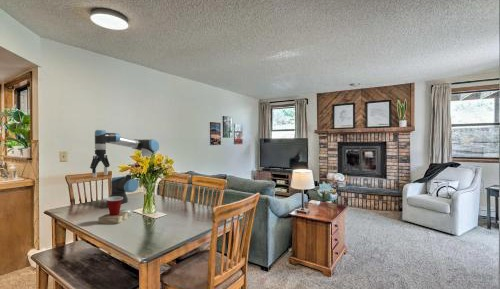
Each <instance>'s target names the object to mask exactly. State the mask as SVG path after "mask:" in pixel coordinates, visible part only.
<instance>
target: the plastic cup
mask: <svg viewBox="0 0 500 289" xmlns="http://www.w3.org/2000/svg"><path fill="white" fill-rule="evenodd" d="M122 199H123V197H120V196H114V197H110V196H109V197H106V199H105V201H106V203H107V207H108V213H110V215H111V216H115V215H119V212H120V210H121V208H122V207H121V206H122V203H121V202H122Z"/></svg>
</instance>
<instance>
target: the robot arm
mask: <svg viewBox="0 0 500 289" xmlns="http://www.w3.org/2000/svg"><path fill="white" fill-rule="evenodd" d="M107 144H111V145H117V146H122V147H127V148H131V149H133V150H137V151H141V153H142V156H143V157H144V156H148V157H149V158H150V157H151V156H152V155H151V154H153V155H154V153H155V152H158V150H159V149H160V143H159V142H158V140H157V139H154V138H153V139H152V138H151V139H136V138H134V139H132V138H126V137H123V136H121V135H120V133H117V132H107V131H106V130H105V129H95V131H94V149H95V150H94V155H93V156H92V160H91V164H90V167H89V168H90V169H91V170H92V172H91V173H92V178H97V177H98V176H97V169H98V168H97V167H98V166H99V163H100V162H101V163H102V164H103V175H104V176H108V174H109V173H108V172H109V167H110V166H111V165H110V162H109V159H108V155H107V154H106V153H107V150H106V149H107V146H106V145H107ZM141 153H140V154H141ZM150 155H151V156H150ZM139 181H140V178H139V179H133V180H131V173H130V172H129V173H128V174H127V173H126V175H122V176H115V177H112V178H111V180H110V184H111V185H110V188H111V189H110V190H111V191H110V196H109V197H114V196H120V197H123V199H122V202H121V204H125V203H128V200H129V199H128V196H127V193H133V192H136V191H137V190H138V189H139V186H140V182H139Z"/></svg>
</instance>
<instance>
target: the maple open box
mask: <svg viewBox="0 0 500 289" xmlns="http://www.w3.org/2000/svg"><path fill="white" fill-rule="evenodd" d="M127 219H130V216H129V212H119V215H115V216H111V215H110V213H109V212H108V213H106V214H104V215H101V216H99V217H98V218H97V220H98V224H101V225H104V224H107V225H110V224H111V225H114V224H115V225H119V224H120V223H123V222H125V221H126V220H127Z"/></svg>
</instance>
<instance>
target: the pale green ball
mask: <svg viewBox="0 0 500 289" xmlns="http://www.w3.org/2000/svg"><path fill="white" fill-rule="evenodd" d="M120 212H129V217H130V216H132V209H130V208H125V209H120Z"/></svg>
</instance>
